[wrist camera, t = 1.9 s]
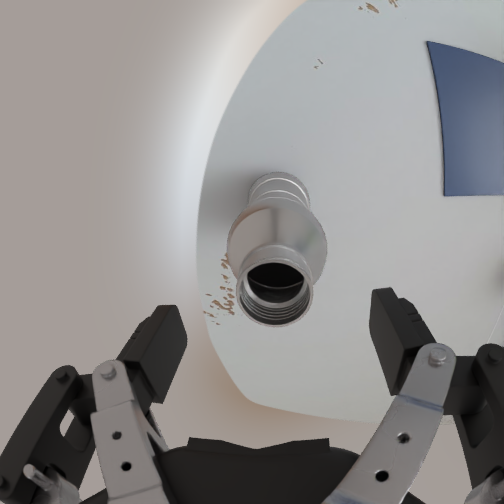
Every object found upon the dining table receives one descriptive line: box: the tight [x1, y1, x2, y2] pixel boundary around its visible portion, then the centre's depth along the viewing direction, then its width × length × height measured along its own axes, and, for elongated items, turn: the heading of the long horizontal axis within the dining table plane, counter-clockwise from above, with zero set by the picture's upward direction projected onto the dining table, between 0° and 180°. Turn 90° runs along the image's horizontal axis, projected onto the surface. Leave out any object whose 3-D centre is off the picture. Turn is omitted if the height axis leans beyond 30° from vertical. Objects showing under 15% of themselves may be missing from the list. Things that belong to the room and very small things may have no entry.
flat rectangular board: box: [427, 41, 504, 196], centre depth 23 cm, size 20×16×1 cm
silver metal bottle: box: [227, 172, 327, 327], centre depth 22 cm, size 6×7×20 cm
